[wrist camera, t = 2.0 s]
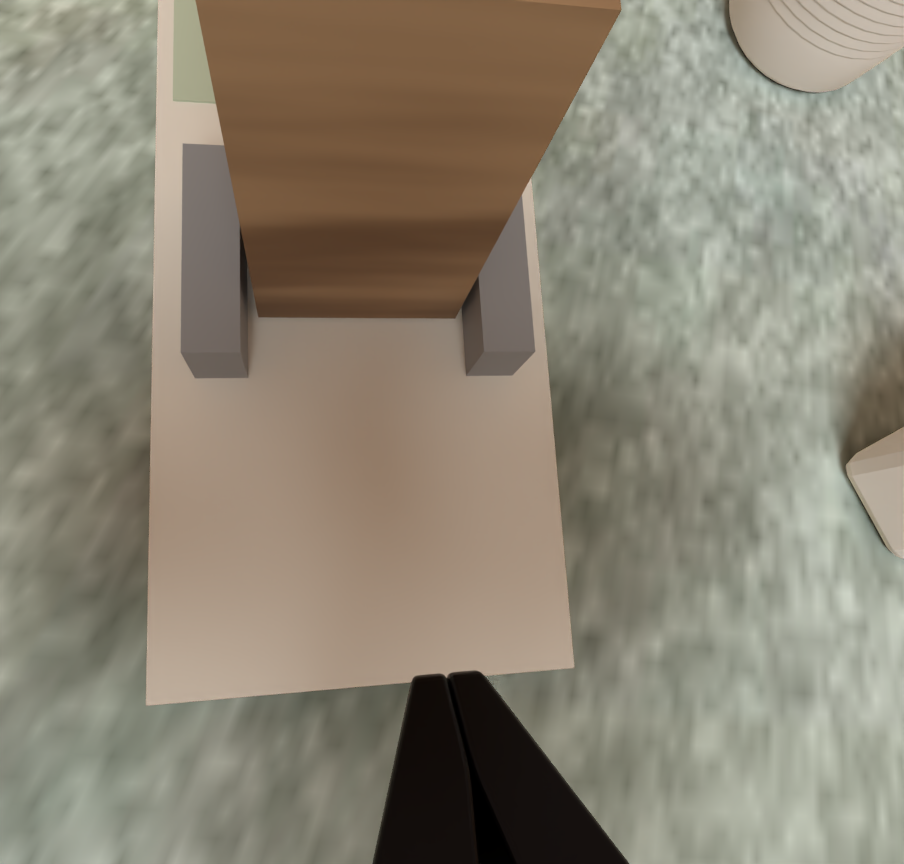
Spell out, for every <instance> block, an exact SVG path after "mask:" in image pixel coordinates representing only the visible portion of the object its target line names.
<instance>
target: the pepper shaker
mask: <svg viewBox="0 0 904 864" xmlns="http://www.w3.org/2000/svg"><path fill="white" fill-rule="evenodd" d="M846 470H847V476H848V478H849V479H850V481H851V483H852V485H853V487H854V488H855V490H856V492H857V494H858V496H859V498H860V499H861V501H862V503H863V505H864V507H865V508H866V510H867V512H868V514H869V516H870V518H871V519H872V521H873V523H874V525H875V527H876V528H877V530H878V532H879V534H880V536H881V538H882V539H883V541H884V543H885V545H886V547H887V548H888V549H889V550H890V551H891V552H892V553H893V554H894V555H895V556H897V557H899V558H902V559H904V427H902V428H900V429H899V430H897V431H895V432H893V433H892V434H890V435H888V436H886V437H884V438H883V439H881V440H879V441H877V442H875V443H874V444H872V445H870V446H868V447H866V448H865V449H863V450H861V451H859V452H857V453H856V454H855V455H854V456H853V457H852V458H851V459H850V461H849V462H848V463H847V464H846Z"/></svg>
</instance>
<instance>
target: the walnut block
mask: <svg viewBox="0 0 904 864" xmlns="http://www.w3.org/2000/svg"><path fill="white" fill-rule="evenodd" d="M195 1H196V6H197V11H198V16H199V21H200V26H201V31H202V36H203V41H204V46H205V51H206V56H207V61H208V66H209V71H210V77H211V82H212V87H213V92H214V97H215V102H216V107H217V112H218V117H219V122H220V127H221V132H222V137H223V142H224V147H225V152H226V157H227V162H228V167H229V172H230V177H231V182H232V187H233V193H234V198H235V203H236V208H237V213H238V218H239V223H240V228H241V233H242V238H243V243H244V248H245V253H246V258H247V263H248V268H249V273H250V278H251V283H252V288H253V293H254V298H255V303H256V309H257V314H258V317H270V318H440V319H455V318H456V316H457V314H458V312H459V310H460V309H461V307H462V305H463V303H464V301H465V299H466V297H467V296H468V294H469V292H470V290H471V288H472V286H473V284H474V283H475V281H476V279H477V277H478V275H479V273H480V271H481V270H482V268H483V266H484V264H485V262H486V260H487V258H488V257H489V255H490V253H491V251H492V249H493V247H494V245H495V244H496V242H497V240H498V238H499V236H500V234H501V232H502V231H503V229H504V227H505V225H506V223H507V221H508V219H509V218H510V216H511V214H512V212H513V210H514V208H515V207H516V205H517V203H518V201H519V199H520V197H521V195H522V194H523V192H524V190H525V188H526V186H527V184H528V182H529V181H530V179H531V177H532V175H533V173H534V171H535V169H536V168H537V166H538V164H539V162H540V160H541V158H542V156H543V155H544V153H545V151H546V149H547V147H548V145H549V143H550V142H551V140H552V138H553V136H554V134H555V132H556V130H557V129H558V127H559V125H560V123H561V121H562V119H563V117H564V116H565V114H566V112H567V110H568V108H569V106H570V104H571V103H572V101H573V99H574V97H575V95H576V93H577V91H578V90H579V88H580V86H581V84H582V82H583V80H584V78H585V77H586V75H587V73H588V71H589V69H590V67H591V65H592V64H593V62H594V60H595V58H596V56H597V54H598V52H599V51H600V49H601V47H602V45H603V43H604V41H605V39H606V38H607V36H608V34H609V32H610V30H611V28H612V27H613V25H614V23H615V21H616V19H617V17H618V15H619V14H620V12H621V3H620V0H195Z"/></svg>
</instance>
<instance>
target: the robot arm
mask: <svg viewBox="0 0 904 864" xmlns="http://www.w3.org/2000/svg"><path fill="white" fill-rule="evenodd" d="M372 864H629V863H628V861H627V860H626V859H625V857H624V856H623V855H622V854H621V852H620V851H619V850H618V848H617V847H616V846H615V844H614V843H613V842H612V841H611V839H610V838H609V837H608V835H607V834H606V833H605V831H604V830H603V829H602V828H601V826H600V825H599V824H598V822H597V821H596V820H595V818H594V817H593V816H592V815H591V813H590V812H589V811H588V809H587V808H586V807H585V805H584V804H583V803H582V802H581V800H580V799H579V798H578V796H577V795H576V794H575V792H574V791H573V790H572V789H571V787H570V786H569V785H568V783H567V782H566V781H565V779H564V778H563V777H562V776H561V774H560V773H559V772H558V770H557V769H556V768H555V766H554V765H553V764H552V763H551V761H550V760H549V759H548V757H547V756H546V755H545V753H544V752H543V751H542V750H541V748H540V747H539V746H538V744H537V743H536V742H535V740H534V739H533V738H532V737H531V735H530V734H529V733H528V731H527V730H526V729H525V727H524V726H523V725H522V724H521V722H520V721H519V720H518V718H517V717H516V716H515V714H514V713H513V712H512V711H511V709H510V708H509V707H508V705H507V704H506V703H505V701H504V700H503V699H502V698H501V696H500V695H499V694H498V692H497V691H496V690H495V688H494V687H493V686H492V685H491V683H490V682H489V681H488V679H487V678H486V677H485V676H484V675H483V674H482V673H481V672H479V671H477V670H471V671H460V672H452V673H449V674H448V676H447V678H446V676H445V675H443V674H440V673H437V674H426V675H417V676H415V677H413V679H412V681H411V685H410V690H409V694H408V699H407V704H406V708H405V713H404V718H403V722H402V727H401V732H400V736H399V741H398V746H397V751H396V755H395V760H394V765H393V769H392V774H391V779H390V783H389V788H388V793H387V797H386V802H385V807H384V811H383V816H382V821H381V826H380V830H379V835H378V840H377V844H376V849H375V854H374V858H373V863H372Z"/></svg>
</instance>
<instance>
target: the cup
mask: <svg viewBox="0 0 904 864" xmlns="http://www.w3.org/2000/svg"><path fill="white" fill-rule="evenodd" d="M729 14H730V19H731V24H732V28H733V31H734V33H735V36H736V38H737V41H738V43H739V46H740V47H741V49H742V50H743V52H744V54H745V55H746V57H747V58H748V59H749V60H750V61H751V63H752V64H753V65H754V66H755V67H756V68H757V69H758V70H759V71H761V72H762V73H763V74H764V75H765V76H767V77H768V78H770V79H772V80H773V81H775V82H777V83H779V84H781V85H784V86H786V87H789V88H793V89H797V90H801V91H806V92H827V91H832V90H836V89H839V88H841V87H843V86H846V85H848V84H849V83H851V82H852V81H854V80H855V79H857V78H858V77H860V76H861V75H863V74H864V73H866V72H867V71H869V70H870V69H872V68H873V67H875V66H876V65H878V64H879V63H881V62H882V61H884V60H885V59H887V58H888V57H890V56H891V55H892V54H893V53H895V52H896V51H899V50H900V49H901V48H903V47H904V0H729Z"/></svg>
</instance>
